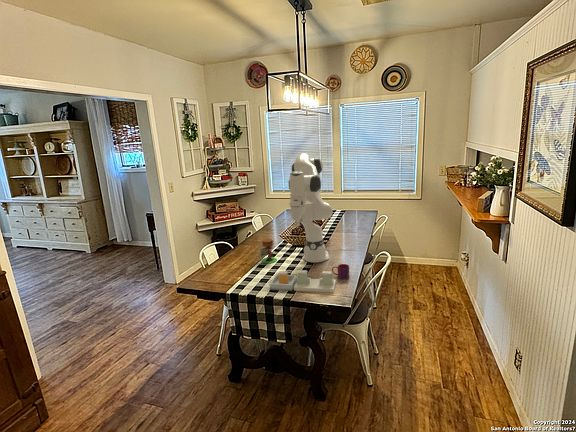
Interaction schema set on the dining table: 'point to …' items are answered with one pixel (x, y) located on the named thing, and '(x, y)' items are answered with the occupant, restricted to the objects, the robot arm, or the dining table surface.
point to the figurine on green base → (267, 251)
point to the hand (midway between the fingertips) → (299, 223)
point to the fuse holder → (315, 286)
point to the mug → (342, 271)
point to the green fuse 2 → (327, 277)
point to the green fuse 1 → (302, 276)
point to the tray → (287, 287)
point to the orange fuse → (283, 277)
